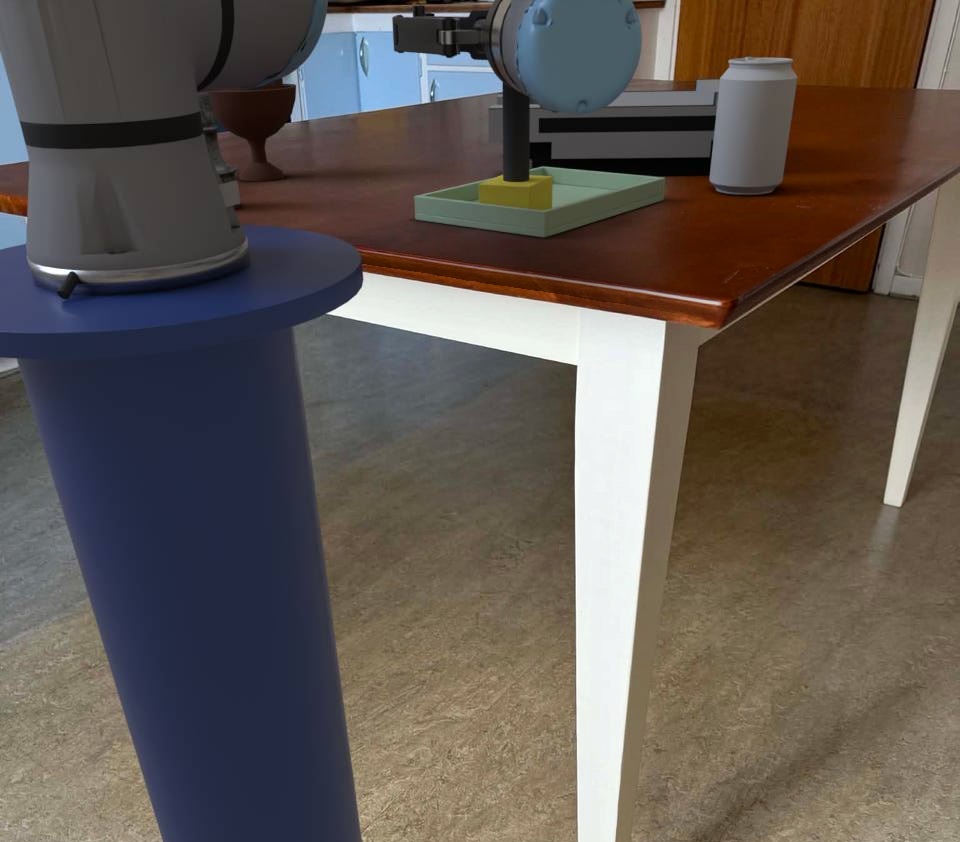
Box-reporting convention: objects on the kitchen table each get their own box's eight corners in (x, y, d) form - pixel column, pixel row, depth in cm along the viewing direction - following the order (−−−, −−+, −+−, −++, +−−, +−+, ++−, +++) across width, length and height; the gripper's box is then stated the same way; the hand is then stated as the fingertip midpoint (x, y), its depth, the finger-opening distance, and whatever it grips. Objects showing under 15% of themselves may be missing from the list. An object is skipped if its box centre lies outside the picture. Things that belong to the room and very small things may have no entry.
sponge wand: (529, 222, 85) (530, 39, 77) (479, 219, 87) (475, 40, 79) (552, 210, 90) (555, 36, 82) (503, 207, 91) (502, 37, 83)
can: (752, 199, 96) (770, 60, 89) (693, 190, 100) (706, 58, 93) (795, 189, 99) (815, 56, 93) (736, 181, 104) (752, 54, 97)
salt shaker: (237, 212, 96) (216, 75, 89) (179, 214, 96) (154, 77, 89) (246, 201, 101) (227, 71, 94) (191, 203, 100) (167, 72, 94)
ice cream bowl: (290, 185, 109) (272, 31, 100) (200, 184, 111) (174, 33, 102) (319, 170, 118) (304, 27, 109) (235, 170, 119) (214, 29, 111)
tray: (544, 237, 83) (544, 212, 81) (415, 219, 91) (413, 196, 89) (663, 200, 96) (665, 177, 95) (542, 187, 104) (542, 166, 103)
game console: (500, 152, 127) (499, 82, 122) (741, 150, 125) (749, 78, 120) (489, 177, 110) (488, 97, 105) (768, 175, 107) (779, 92, 103)
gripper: (375, 101, 70) (365, 78, 88) (696, 93, 73) (626, 73, 90) (367, -22, 66) (358, -20, 83) (709, -26, 69) (632, -23, 86)
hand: (497, 28), depth 87 cm, fingers open, 13 cm apart
